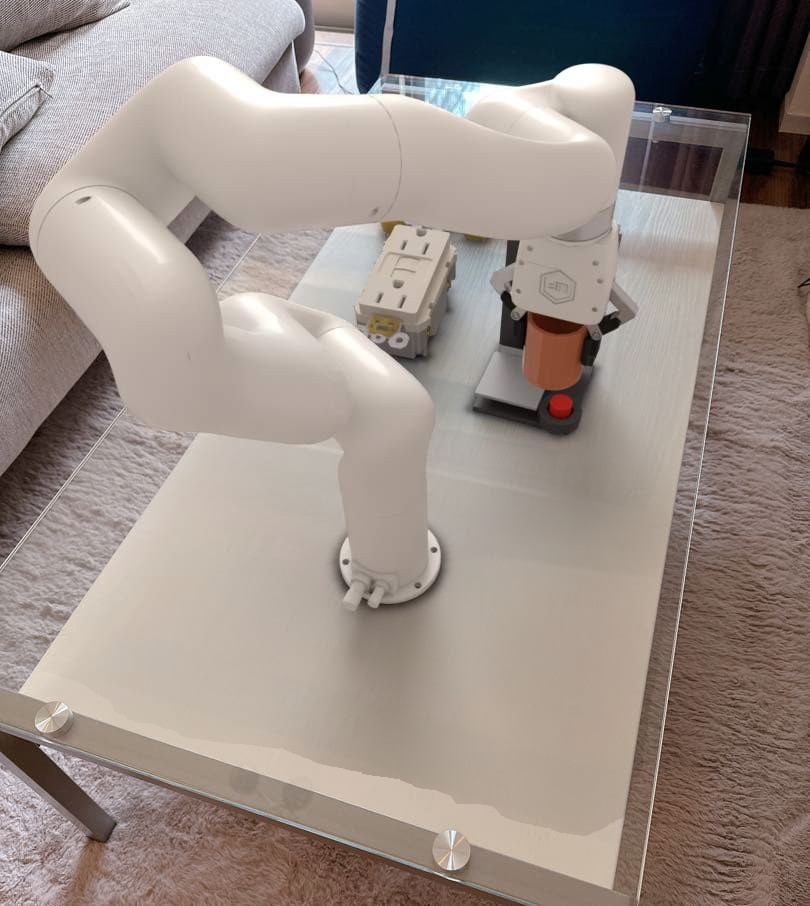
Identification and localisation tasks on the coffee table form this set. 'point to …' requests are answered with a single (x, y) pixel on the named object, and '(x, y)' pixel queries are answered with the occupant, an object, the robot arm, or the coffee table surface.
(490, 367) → the coffee maker
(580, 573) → the coffee table surface
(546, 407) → the brew base
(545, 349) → the cup
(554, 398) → the brew button
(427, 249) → the electrical outlet
